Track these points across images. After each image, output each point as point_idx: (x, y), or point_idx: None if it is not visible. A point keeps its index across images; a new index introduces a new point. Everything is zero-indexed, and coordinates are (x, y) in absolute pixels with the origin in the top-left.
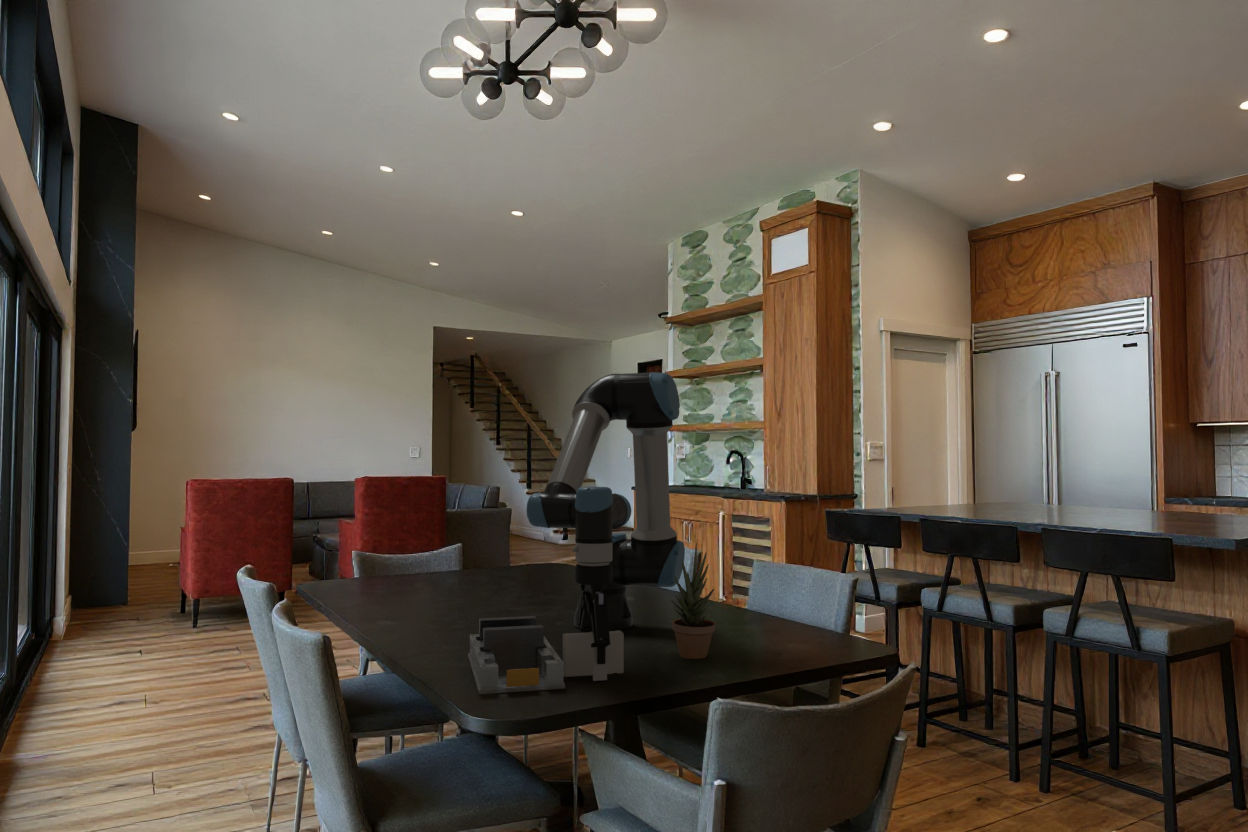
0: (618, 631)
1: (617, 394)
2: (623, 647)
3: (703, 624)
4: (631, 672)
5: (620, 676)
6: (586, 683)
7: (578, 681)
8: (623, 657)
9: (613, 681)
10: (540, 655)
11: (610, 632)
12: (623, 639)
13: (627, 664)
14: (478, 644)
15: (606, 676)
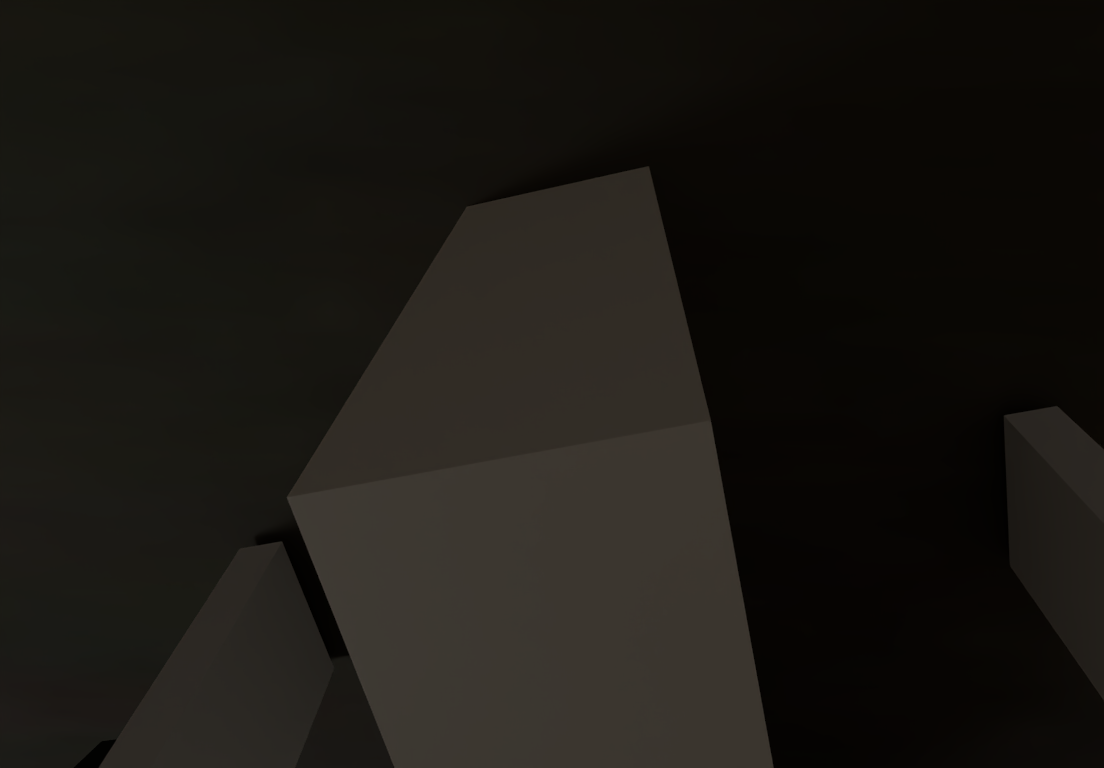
0: (409, 560)
1: None
2: (674, 279)
3: None
4: (622, 40)
5: (832, 217)
6: None
7: (978, 688)
8: (662, 222)
9: (1075, 319)
10: None
11: (562, 762)
12: (686, 347)
13: (151, 89)
14: None
15: (1082, 434)
